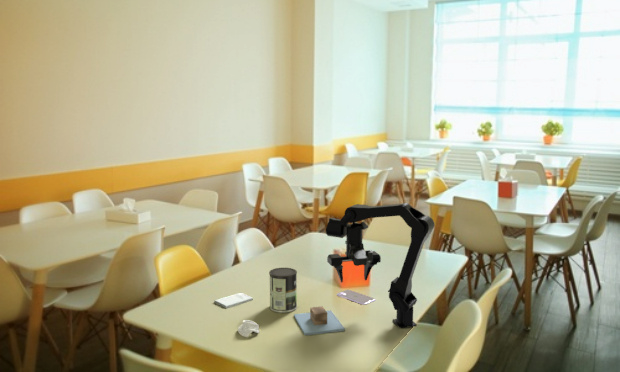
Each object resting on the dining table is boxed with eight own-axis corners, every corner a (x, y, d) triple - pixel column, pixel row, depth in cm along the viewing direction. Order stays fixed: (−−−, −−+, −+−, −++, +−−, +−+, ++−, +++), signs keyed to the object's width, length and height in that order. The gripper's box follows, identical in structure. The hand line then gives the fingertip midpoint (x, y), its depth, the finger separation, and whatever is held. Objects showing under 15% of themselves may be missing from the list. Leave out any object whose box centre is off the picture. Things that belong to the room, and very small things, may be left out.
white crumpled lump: (234, 334, 176) (232, 321, 175) (249, 326, 180) (247, 313, 179) (248, 340, 170) (246, 326, 169) (264, 332, 174) (262, 319, 174)
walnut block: (322, 317, 185) (322, 306, 185) (327, 323, 180) (327, 312, 179) (310, 318, 184) (310, 307, 184) (314, 325, 178) (314, 314, 178)
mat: (344, 330, 176) (344, 328, 176) (304, 335, 173) (304, 333, 172) (330, 312, 191) (330, 310, 191) (293, 316, 188) (293, 314, 188)
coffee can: (294, 301, 202) (294, 266, 199) (298, 312, 192) (298, 275, 189) (268, 303, 200) (268, 267, 198) (270, 313, 190) (270, 276, 188)
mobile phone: (364, 303, 198) (335, 293, 209) (364, 306, 198) (335, 295, 209) (376, 298, 203) (347, 288, 214) (376, 300, 204) (347, 290, 214)
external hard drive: (214, 303, 201) (240, 295, 209) (226, 310, 195) (252, 301, 203) (214, 299, 201) (240, 291, 209) (226, 305, 195) (252, 297, 203)
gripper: (336, 247, 177) (335, 291, 180) (387, 243, 182) (386, 286, 184) (327, 239, 188) (326, 280, 190) (375, 235, 192) (374, 276, 195)
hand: (353, 281), depth 190 cm, fingers open, 9 cm apart
